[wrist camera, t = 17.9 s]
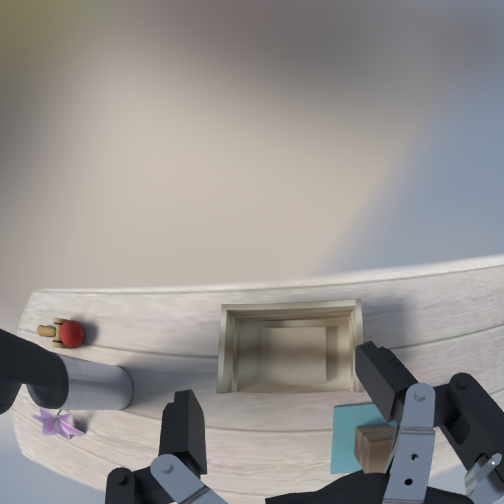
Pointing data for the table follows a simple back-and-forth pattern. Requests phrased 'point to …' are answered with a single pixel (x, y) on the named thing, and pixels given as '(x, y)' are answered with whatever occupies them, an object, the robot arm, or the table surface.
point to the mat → (351, 434)
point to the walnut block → (373, 446)
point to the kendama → (63, 333)
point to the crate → (290, 347)
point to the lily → (56, 424)
